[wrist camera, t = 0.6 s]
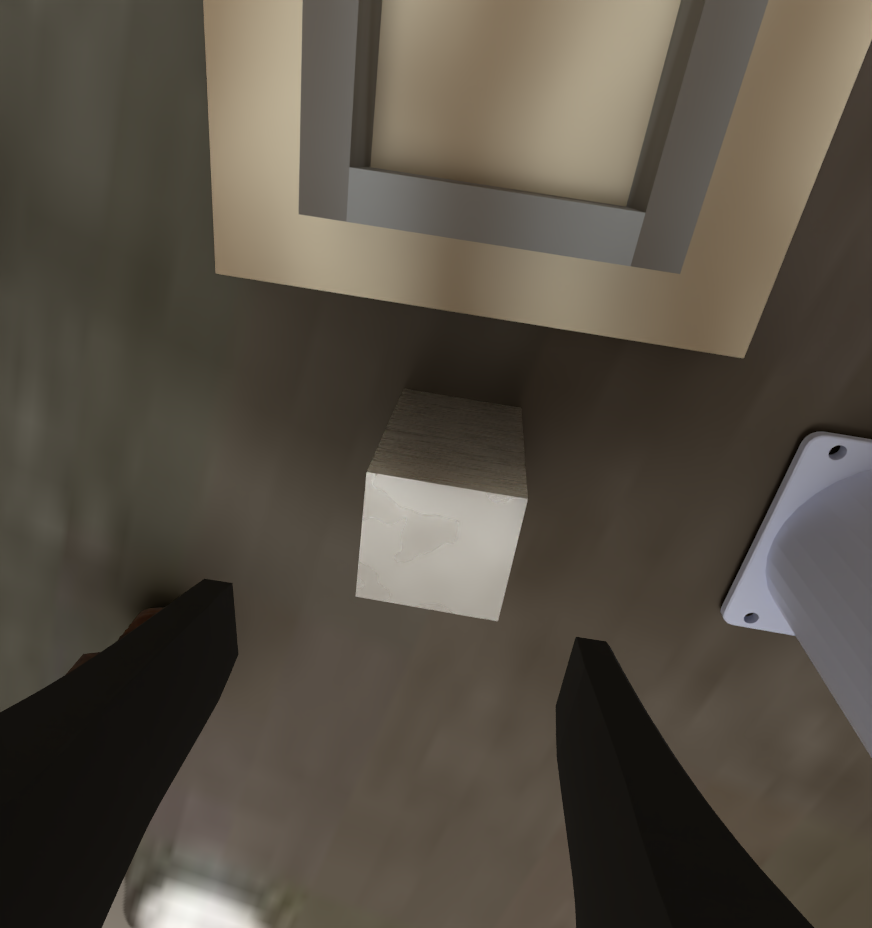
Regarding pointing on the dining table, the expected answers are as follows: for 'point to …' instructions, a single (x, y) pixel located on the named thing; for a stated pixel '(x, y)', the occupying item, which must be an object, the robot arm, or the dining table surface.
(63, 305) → the dining table surface
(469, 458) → the peg
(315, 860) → the dining table surface
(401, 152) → the socket base
